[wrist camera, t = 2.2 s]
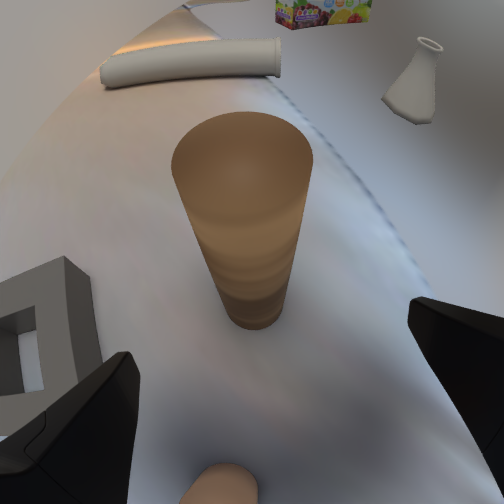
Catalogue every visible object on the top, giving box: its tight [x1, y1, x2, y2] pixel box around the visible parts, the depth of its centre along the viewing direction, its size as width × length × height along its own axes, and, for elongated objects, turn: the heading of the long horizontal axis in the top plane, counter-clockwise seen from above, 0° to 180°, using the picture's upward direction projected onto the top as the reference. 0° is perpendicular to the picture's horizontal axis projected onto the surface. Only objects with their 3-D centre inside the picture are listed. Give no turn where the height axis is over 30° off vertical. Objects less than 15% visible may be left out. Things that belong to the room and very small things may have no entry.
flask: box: [381, 37, 443, 125], centre depth 26 cm, size 7×7×10 cm
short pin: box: [179, 463, 258, 504], centre depth 13 cm, size 4×4×5 cm
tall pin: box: [171, 112, 313, 330], centre depth 14 cm, size 4×4×14 cm
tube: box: [100, 37, 281, 88], centre depth 32 cm, size 5×5×25 cm
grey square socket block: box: [0, 256, 103, 436], centre depth 17 cm, size 12×12×4 cm
